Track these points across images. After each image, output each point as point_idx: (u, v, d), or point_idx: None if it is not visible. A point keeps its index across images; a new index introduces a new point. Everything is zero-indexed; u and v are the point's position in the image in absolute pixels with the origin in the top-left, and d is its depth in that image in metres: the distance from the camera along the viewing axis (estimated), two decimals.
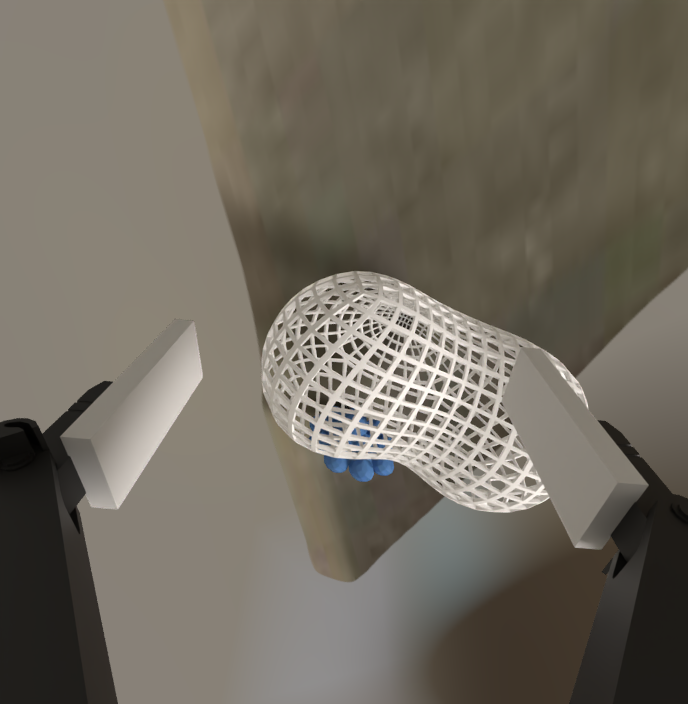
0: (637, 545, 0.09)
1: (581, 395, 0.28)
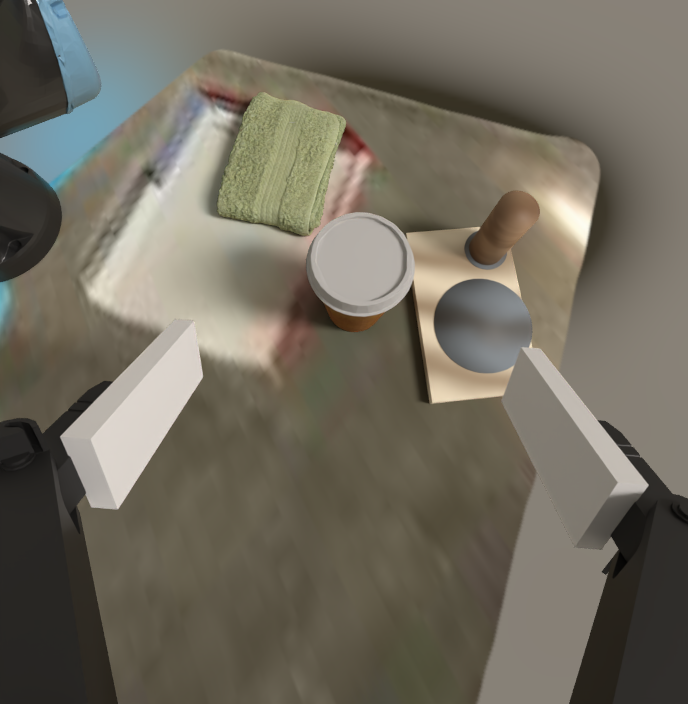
0: (637, 545, 0.09)
1: None
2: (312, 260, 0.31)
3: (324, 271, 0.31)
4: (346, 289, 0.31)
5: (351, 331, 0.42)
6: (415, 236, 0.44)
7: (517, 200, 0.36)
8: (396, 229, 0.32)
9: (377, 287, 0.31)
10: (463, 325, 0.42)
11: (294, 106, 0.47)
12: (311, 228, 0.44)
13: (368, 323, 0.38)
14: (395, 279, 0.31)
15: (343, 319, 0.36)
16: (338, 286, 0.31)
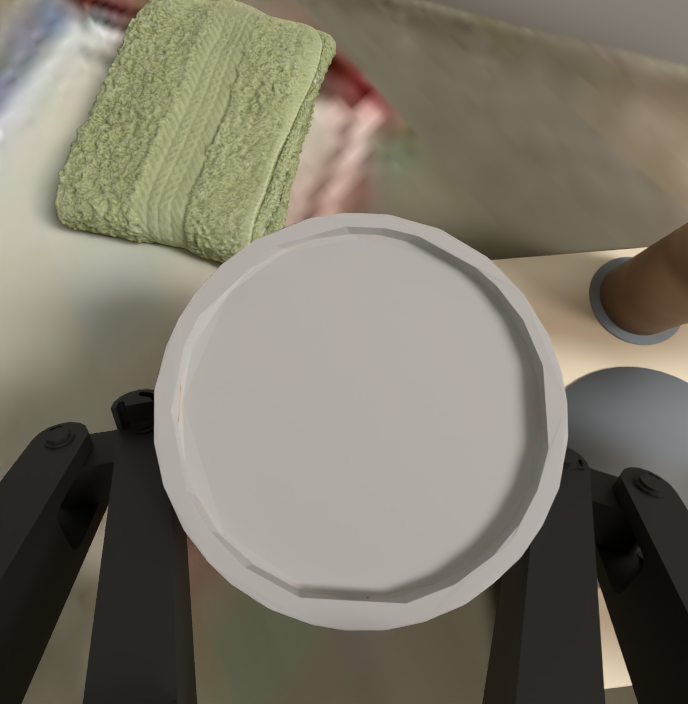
0: None
1: None
2: (159, 407, 0.08)
3: (211, 448, 0.08)
4: (297, 532, 0.07)
5: None
6: None
7: None
8: (496, 275, 0.08)
9: (427, 523, 0.07)
10: None
11: (233, 11, 0.24)
12: None
13: None
14: (500, 483, 0.08)
15: None
16: (264, 518, 0.07)
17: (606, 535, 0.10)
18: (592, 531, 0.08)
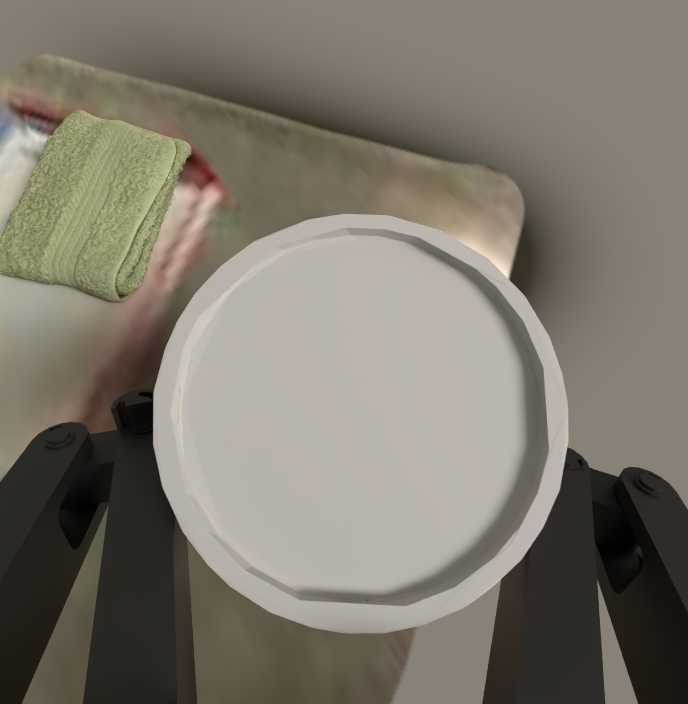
0: None
1: None
2: (158, 408, 0.08)
3: (210, 450, 0.08)
4: (296, 535, 0.07)
5: None
6: None
7: None
8: (497, 277, 0.08)
9: (427, 525, 0.07)
10: None
11: (119, 128, 0.36)
12: (124, 292, 0.32)
13: None
14: (500, 486, 0.08)
15: None
16: (263, 520, 0.07)
17: (606, 535, 0.10)
18: (592, 531, 0.08)
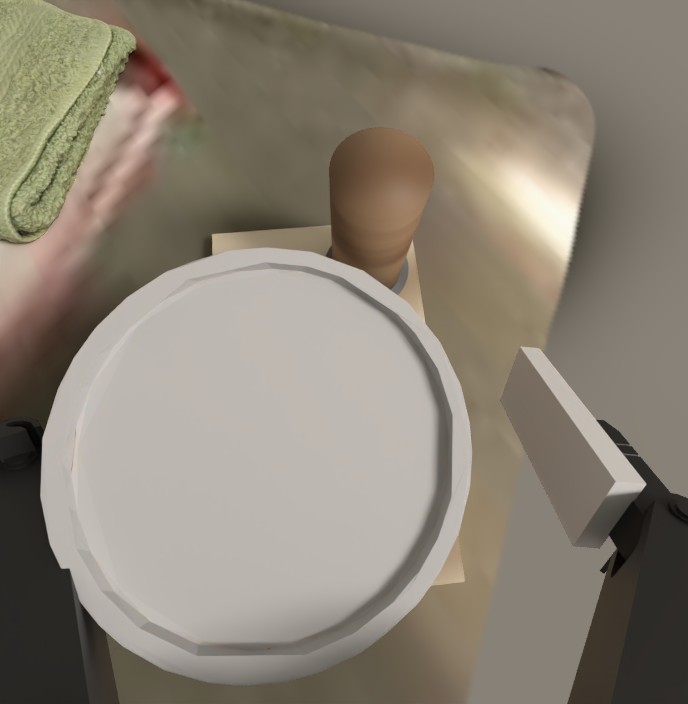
0: (635, 544, 0.09)
1: None
2: (47, 457, 0.07)
3: (108, 499, 0.07)
4: (199, 585, 0.07)
5: None
6: (229, 241, 0.22)
7: (379, 151, 0.14)
8: (416, 322, 0.09)
9: (333, 570, 0.08)
10: None
11: (34, 9, 0.26)
12: (26, 228, 0.22)
13: None
14: (405, 529, 0.08)
15: None
16: (164, 572, 0.07)
17: None
18: None
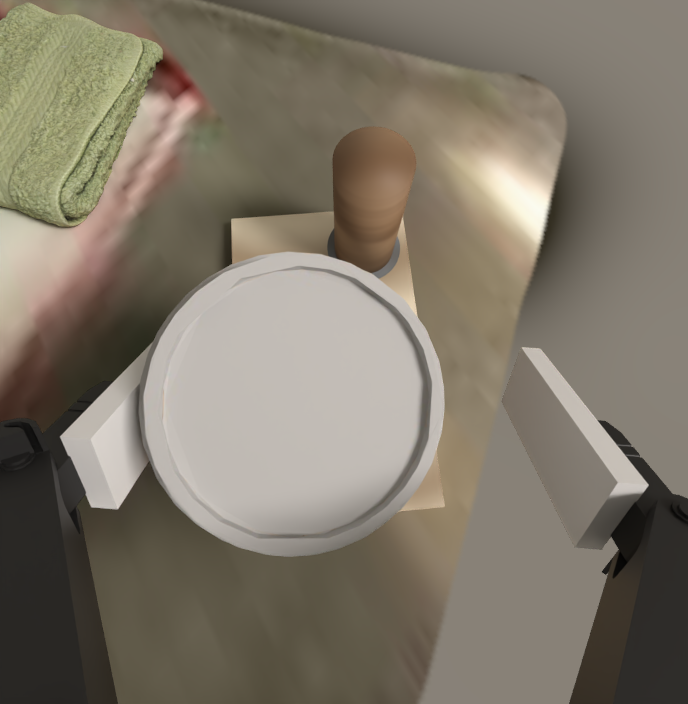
0: (637, 545, 0.09)
1: None
2: (148, 408, 0.10)
3: (189, 438, 0.10)
4: (255, 496, 0.10)
5: None
6: (246, 224, 0.26)
7: (373, 145, 0.18)
8: (409, 313, 0.11)
9: (346, 487, 0.11)
10: None
11: (74, 23, 0.29)
12: (72, 214, 0.26)
13: None
14: (395, 460, 0.11)
15: None
16: (231, 487, 0.10)
17: None
18: None
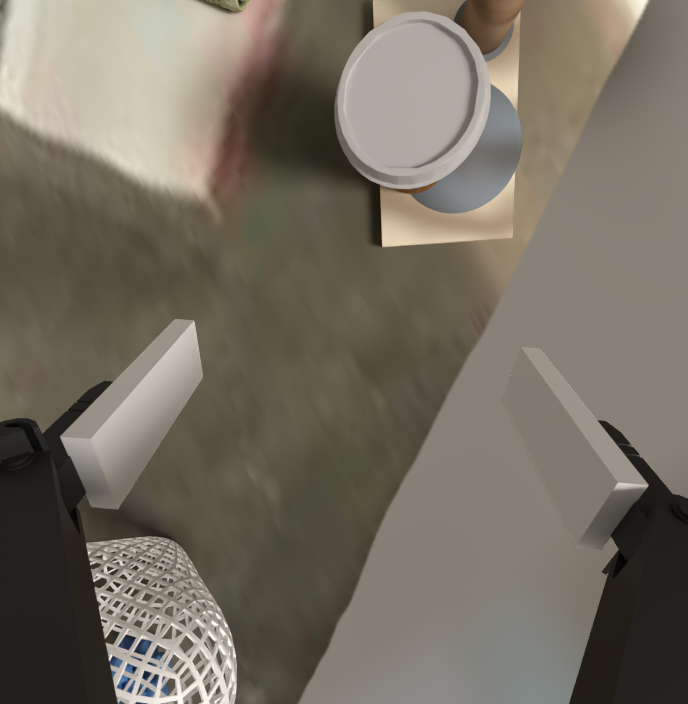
0: (637, 545, 0.09)
1: (175, 681, 0.28)
2: (339, 107, 0.23)
3: (356, 123, 0.23)
4: (384, 150, 0.23)
5: (407, 193, 0.34)
6: (385, 5, 0.31)
7: None
8: (467, 39, 0.21)
9: (428, 146, 0.23)
10: None
11: None
12: None
13: (425, 187, 0.30)
14: (455, 131, 0.22)
15: None
16: (374, 146, 0.23)
17: None
18: None
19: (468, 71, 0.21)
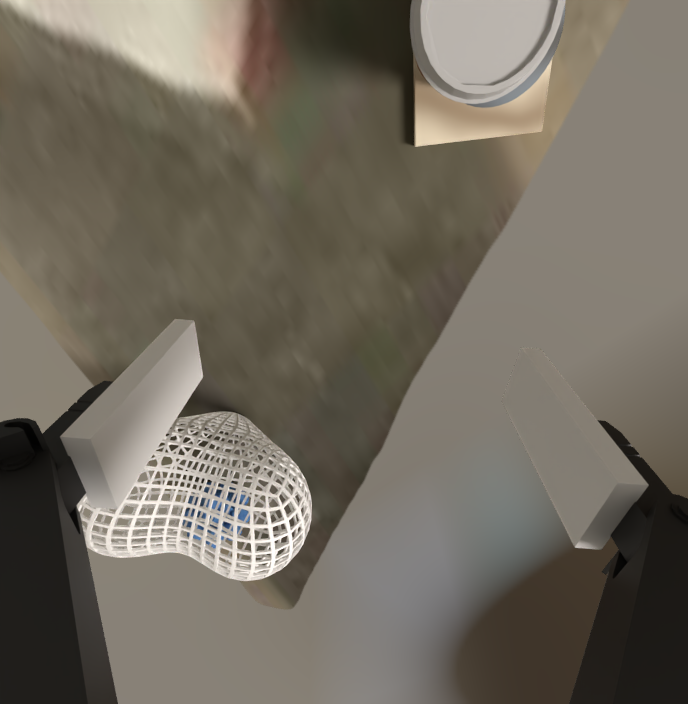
0: (637, 545, 0.09)
1: (276, 498, 0.40)
2: (422, 16, 0.23)
3: (436, 34, 0.23)
4: (462, 65, 0.24)
5: None
6: None
7: None
8: None
9: (503, 61, 0.24)
10: None
11: None
12: None
13: None
14: (530, 45, 0.24)
15: None
16: (452, 61, 0.24)
17: None
18: None
19: None
